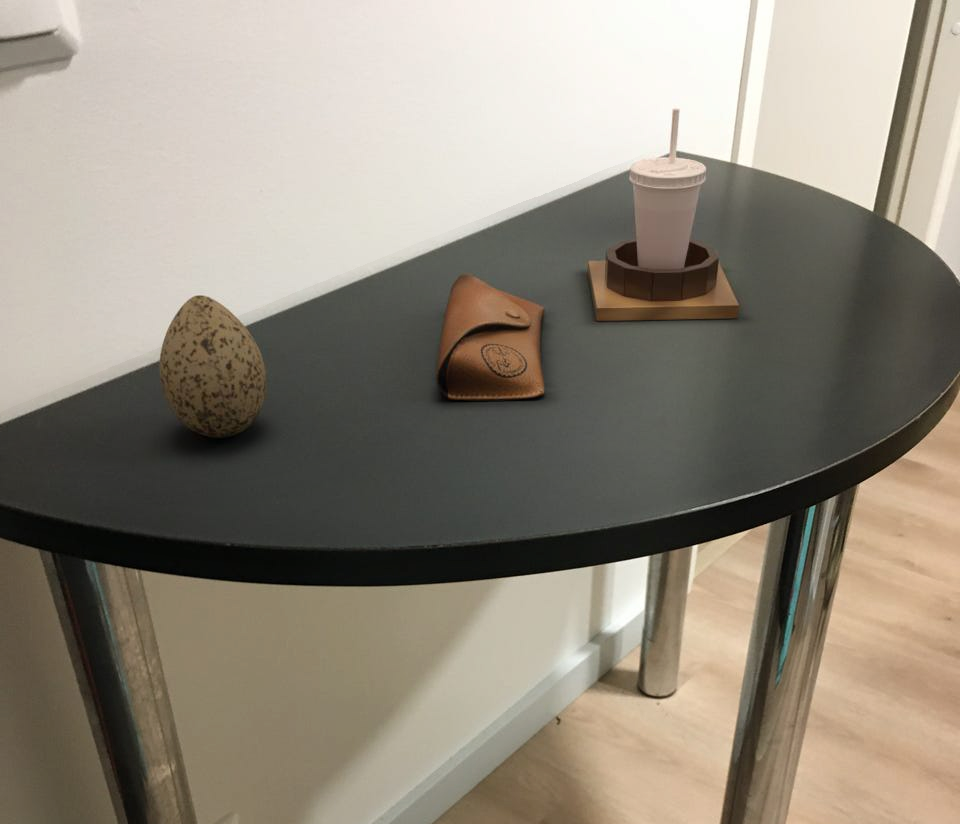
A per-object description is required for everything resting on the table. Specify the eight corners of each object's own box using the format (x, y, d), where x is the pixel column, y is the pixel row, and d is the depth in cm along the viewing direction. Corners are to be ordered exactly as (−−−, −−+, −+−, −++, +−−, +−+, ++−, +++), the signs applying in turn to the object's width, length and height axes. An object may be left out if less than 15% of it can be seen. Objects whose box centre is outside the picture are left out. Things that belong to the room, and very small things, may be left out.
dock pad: (715, 270, 104) (720, 230, 101) (737, 318, 94) (742, 275, 92) (587, 273, 104) (589, 233, 102) (596, 321, 94) (597, 278, 92)
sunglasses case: (552, 393, 82) (504, 319, 79) (472, 438, 84) (423, 368, 81) (546, 305, 96) (506, 239, 93) (478, 346, 99) (436, 283, 95)
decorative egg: (230, 465, 75) (204, 323, 69) (152, 443, 78) (120, 305, 72) (294, 423, 80) (275, 287, 74) (217, 404, 83) (193, 272, 77)
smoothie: (710, 278, 99) (727, 108, 90) (669, 299, 95) (683, 123, 86) (650, 264, 102) (661, 98, 94) (609, 283, 98) (616, 112, 90)
